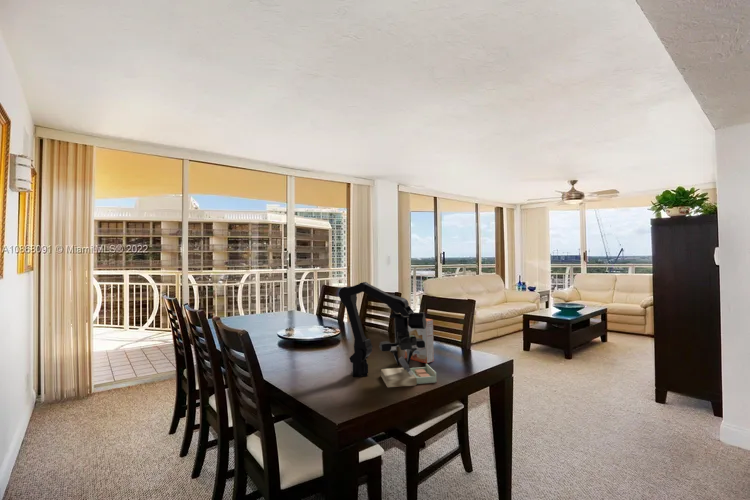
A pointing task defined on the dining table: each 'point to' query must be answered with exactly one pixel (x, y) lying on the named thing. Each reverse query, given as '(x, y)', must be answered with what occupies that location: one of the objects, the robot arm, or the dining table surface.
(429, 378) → the tray
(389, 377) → the board
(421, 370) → the tile
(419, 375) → the tile
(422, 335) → the cracker box
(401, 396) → the dining table surface
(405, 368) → the scraper
